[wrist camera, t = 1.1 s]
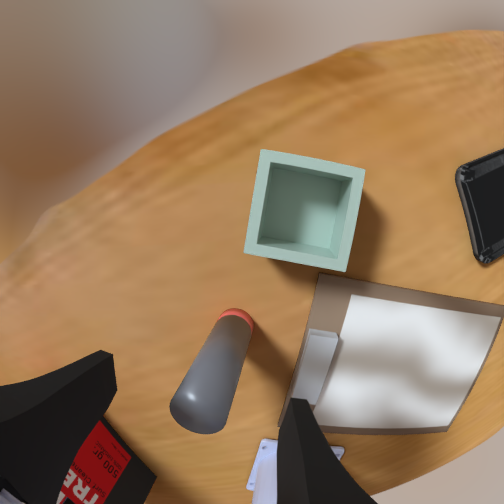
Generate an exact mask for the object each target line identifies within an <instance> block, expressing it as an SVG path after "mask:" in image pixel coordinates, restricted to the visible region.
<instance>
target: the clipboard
mask: <svg viewBox="0 0 504 504" xmlns="http://www.w3.org/2000/svg"><path fill="white" fill-rule="evenodd" d="M503 318H504V305H499V304H493V303H487V302H481V301H476V300H470V299H464V298H458V297H453V296H447V295H441V294H436V293H430V292H424V291H419V290H413V289H407V288H402V287H396V286H391V285H385V284H380V283H374V282H369V281H363V280H358V279H352V278H347V277H341V276H336V275H331V274H325V273H320V272H319V276H318V280H317V285H316V289H315V293H314V298H313V302H312V306H311V310H310V314H309V318H308V322H307V326H306V330H305V333H304V337H303V341H302V345H301V348H300V352H299V356H298V359H297V363H296V366H295V370H294V373H293V377H292V380H291V383H290V387H289V390H288V393H287V396H286V400H285V403H284V406H283V409H282V412H281V416H280V419H279V422H278V427H281V424H282V421H283V418H284V416H285V413H286V410H287V407H288V404H289V401H290V398H291V397H292V398H300V399H307V401H308V402H309V404H310V407H311V409H312V412H313V414H314V416H315V418H316V420H317V423H318V425H319V427H320V429H321V431H322V432H325V433H338V434H358V435H407V434H426V433H438V432H447V430H448V429H449V427H450V426H451V424H452V423H453V421H454V419H455V418H456V416H457V415H458V413H459V411H460V410H461V408H462V406H463V404H464V403H465V401H466V399H467V397H468V396H469V394H470V392H471V390H472V388H473V386H474V384H475V382H476V380H477V379H478V377H479V375H480V372H481V370H482V368H483V366H484V364H485V362H486V360H487V358H488V355H489V353H490V351H491V348H492V346H493V344H494V341H495V339H496V336H497V334H498V331H499V329H500V326H501V323H502V320H503Z"/></svg>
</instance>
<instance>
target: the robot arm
mask: <svg viewBox="0 0 504 504" xmlns="http://www.w3.org/2000/svg"><path fill="white" fill-rule="evenodd" d="M116 391H117V384H116V377H115V369H114V360H113V354H111V353H108V352H105V351H102V350H99V351H97V352H95V353H93V354H90V355H88V356H86V357H84V358H82V359H80V360H78V361H76V362H74V363H71V364H69V365H67V366H65V367H63V368H60V369H58V370H55V371H53V372H50V373H48V374H45V375H43V376H40V377H37V378H34V379H31V380H27V381H24V382H20V383H15V384H10V385H4V386H0V504H23V503H25V504H56V503H57V500H58V497H59V494H60V491H61V488H62V486H63V483H64V480H65V478H66V476H67V474H68V471H69V469H70V467H71V465H72V463H73V461H74V459H75V457H76V455H77V453H78V451H79V449H80V448H81V446H82V444H83V443H84V441H85V440H86V438H87V437H88V436H89V434H90V433H91V431H92V430H93V429H94V427H95V426H96V424H97V423H98V422H99V420H100V419H101V417H102V416H103V415H104V413H105V412H106V410H107V409H108V407H109V405H110V403H111V402H112V400H113V398H114V396H115V394H116ZM264 446H266V447H264ZM343 453H344V448H343V447H338V446H330V445H329V444H328V442H327V440H326V438H325V436H324V434H323V433H322V431H321V429H320V427H319V425H318V423H317V420H316V418H315V416H314V414H313V412H312V409H311V407H310V404H309V402H308V401H307V399H300V398H292V397H291V398H290V401H289V404H288V407H287V410H286V413H285V416H284V418H283V421H282V424H281V427H280V429H279V435H278V440H271V439H263V440H262V441H261V443H260V446H259V449H258V452H257V456H256V459H255V462H254V465H253V468H252V471H251V474H250V477H249V480H248V483H247V486H246V488H247V489H248V490H253V491H254V493H253V499H252V504H377V503H376V502H375V501H374V500H373V499H372V498H371V497H370V496H369V495H368V494H367V493H366V492H365V491H364V490H363V489H362V488H361V487H360V486H359V485H358V484H357V483H356V482H355V480H354V479H353V478H352V477H351V476H350V474H349V473H348V472H347V471H346V469H345V468H344V467H343V465H342V464H341V462H340V461H339V460H340V458H341V457H342V455H343ZM22 502H23V503H22Z"/></svg>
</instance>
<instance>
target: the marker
mask: <svg viewBox="0 0 504 504" xmlns="http://www.w3.org/2000/svg"><path fill="white" fill-rule="evenodd" d="M252 331H253V321H252V318H251V317H250V315H249V314H248V313H246V312H245V311H243V310H241V309H236V308H233V309H228V310H226V311H224V312H223V313H222V314H221V315H220V317H219V319H218V321H217V322H216V324H215V326H214V328H213V329H212V331H211V333H210V334H209V336H208V338H207V340H206V341H205V343H204V345H203V346H202V348H201V350H200V352H199V353H198V355H197V357H196V359H195V360H194V362H193V364H192V365H191V367H190V369H189V371H188V372H187V374H186V376H185V377H184V379H183V381H182V383H181V384H180V386H179V388H178V389H177V391H176V393H175V395H174V396H173V398H172V400H171V402H170V412H171V415H172V416H173V418H174V419H175V420H176V422H177V423H179V424H180V425H181V426H182V427H184V428H185V429H187V430H189V431H192V432H195V433H199V434H213V433H216V432H219V431H220V430H222V429H223V428H224V426H225V424H226V421H227V418H228V415H229V411H230V408H231V404H232V401H233V398H234V394H235V391H236V387H237V384H238V381H239V377H240V374H241V370H242V367H243V363H244V360H245V356H246V353H247V349H248V346H249V342H250V338H251V335H252Z"/></svg>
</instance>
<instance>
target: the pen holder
mask: <svg viewBox="0 0 504 504" xmlns="http://www.w3.org/2000/svg"><path fill="white" fill-rule="evenodd" d="M364 175H365V169H361V168H357V167H353V166H348V165H344V164H339V163H335V162H330V161H325V160H321V159H316V158H310V157H305V156H300V155H294V154H289V153H283V152H277V151H271V150H264V149H261V152H260V158H259V164H258V170H257V175H256V181H255V187H254V193H253V199H252V205H251V211H250V217H249V223H248V229H247V235H246V241H245V247H244V253H246V254H252V255H257V256H262V257H268V258H273V259H278V260H284V261H289V262H294V263H299V264H305V265H310V266H315V267H321V268H326V269H332V270H337V271H342V272H346V268H347V263H348V259H349V254H350V250H351V245H352V241H353V236H354V231H355V226H356V221H357V216H358V210H359V205H360V199H361V194H362V188H363V182H364Z"/></svg>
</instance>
